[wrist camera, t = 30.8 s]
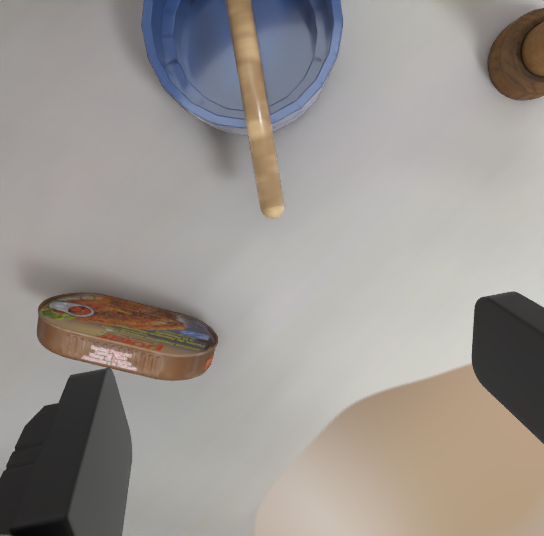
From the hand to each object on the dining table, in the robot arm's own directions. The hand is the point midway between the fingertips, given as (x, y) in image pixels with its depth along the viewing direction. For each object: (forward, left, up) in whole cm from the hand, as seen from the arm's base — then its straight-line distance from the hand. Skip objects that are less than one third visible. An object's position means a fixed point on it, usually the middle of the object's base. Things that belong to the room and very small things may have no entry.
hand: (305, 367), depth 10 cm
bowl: (-1, +16, -32) cm, 36 cm away
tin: (-15, -6, -32) cm, 36 cm away
